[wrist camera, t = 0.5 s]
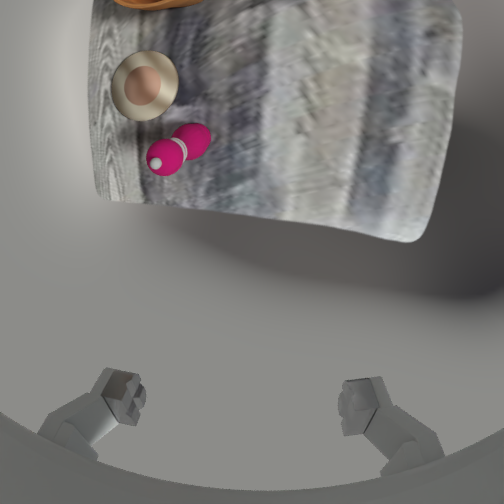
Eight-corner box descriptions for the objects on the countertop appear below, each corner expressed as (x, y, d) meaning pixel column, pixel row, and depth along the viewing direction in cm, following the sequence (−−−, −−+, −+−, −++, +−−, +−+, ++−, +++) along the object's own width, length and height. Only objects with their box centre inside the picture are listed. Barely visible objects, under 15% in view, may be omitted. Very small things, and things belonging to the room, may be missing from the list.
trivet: (143, 38, 41) (140, 37, 40) (194, 78, 46) (192, 78, 45) (103, 94, 48) (100, 94, 47) (148, 134, 54) (145, 135, 53)
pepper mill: (220, 139, 53) (185, 167, 36) (195, 160, 56) (154, 197, 40) (197, 113, 50) (152, 131, 34) (174, 136, 53) (124, 163, 37)
